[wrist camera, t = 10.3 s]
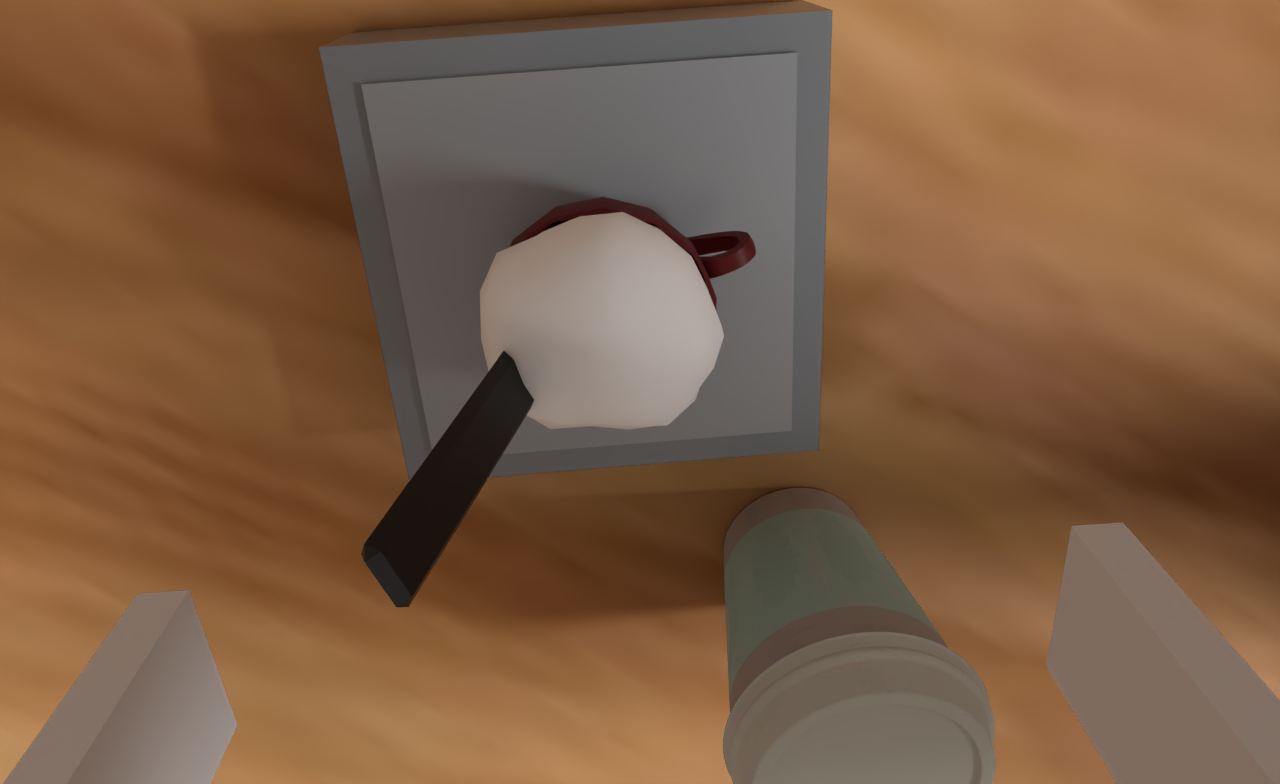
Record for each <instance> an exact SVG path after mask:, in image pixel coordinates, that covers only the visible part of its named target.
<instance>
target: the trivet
mask: <svg viewBox="0 0 1280 784" xmlns="http://www.w3.org/2000/svg"><path fill="white" fill-rule="evenodd" d="M831 38H832V10H830V9H827V8H824V7H821V6H818V5H815V4H812V3H809V2H806V1H803V0H794V1H780V2H766V3H752V4H738V5H724V6H711V7H697V8H683V9H669V10H655V11H641V12H627V13H614V14H600V15H586V16H572V17H558V18H544V19H530V20H516V21H503V22H489V23H475V24H461V25H447V26H433V27H419V28H405V29H392V30H378V31H364V32H352V33H349V34H347V35H345V36H343V37H341V38H338V39H336V40H334V41H332V42H329V43H327V44H325V45H323V46H321V47H319V52H320V56H321V61H322V66H323V71H324V75H325V80H326V85H327V90H328V95H329V99H330V104H331V109H332V114H333V118H334V123H335V128H336V133H337V138H338V142H339V147H340V152H341V157H342V161H343V166H344V171H345V176H346V181H347V185H348V190H349V195H350V200H351V204H352V209H353V214H354V219H355V223H356V228H357V233H358V238H359V243H360V247H361V252H362V257H363V262H364V266H365V271H366V276H367V281H368V286H369V290H370V295H371V300H372V305H373V309H374V314H375V319H376V324H377V329H378V333H379V338H380V343H381V348H382V352H383V357H384V362H385V367H386V372H387V376H388V381H389V386H390V391H391V395H392V400H393V405H394V410H395V414H396V419H397V424H398V429H399V434H400V438H401V443H402V448H403V453H404V457H405V462H406V467H407V472H408V477H409V481H410V480H411V479H412V477H413V476H414V474H415V473H416V472H417V470H418V469H419V467H420V466H421V465H422V463H423V462H424V460H425V459H426V458H427V456H428V455H429V454H430V452H431V451H432V449H433V448H434V447H435V445H436V444H437V442H438V441H439V440H440V438H441V437H442V436H443V434H444V433H445V431H446V430H447V429H448V427H449V426H450V424H451V423H452V422H453V420H454V419H455V417H456V416H457V415H458V413H459V412H460V411H461V409H462V408H463V406H464V405H465V404H466V402H467V401H468V399H469V398H470V397H471V395H472V394H473V392H474V391H475V390H476V388H477V387H478V386H479V384H480V383H481V381H482V380H483V379H484V377H485V376H486V374H487V373H488V372H489V371H488V366H487V362H486V358H485V354H484V350H483V346H482V342H481V319H480V290H481V287H482V285H483V283H484V281H485V278H486V276H487V274H488V271H489V269H490V267H491V265H492V262H493V260H494V258H495V256H496V253H498V252H500V251H502V250H504V249H507V248H509V247H510V244H511V242H512V240H513V239H514V238H516V237H517V236H518V235H519V234H521V233H522V232H523V231H525V230H526V229H527V228H529V227H530V226H531V225H532V224H534V223H535V222H536V221H538V220H539V219H540V218H541V217H543V216H544V215H545V214H547V213H548V212H549V211H551V210H552V209H553V208H554V207H556V206H560V205H565V204H569V203H574V202H579V201H584V200H589V199H593V198H598V197H607V198H611V199H615V200H619V201H623V202H627V203H631V204H635V205H640V206H644V207H648V208H650V209H652V210H653V211H655V212H656V213H657V214H658V215H659V216H661V217H662V218H663V219H664V220H666V221H667V222H668V223H669V224H670V225H672V226H673V227H674V228H675V229H676V230H678V231H679V232H680V233H681V234H682V235H684V236H685V237H693V236H698V235H704V234H710V233H717V232H727V231H743V232H748V234H749V235H750V237H751V238H752V240H753V241H754V244H755V249H756V255H755V256H754V257H753V259H752V260H751V261H750V262H749V263H747V264H746V265H744V266H743V267H741V268H739V269H737V270H735V271H732V272H730V273H727V274H725V275H722V276H719V277H715V278H711V279H710V281H711V284H712V287H713V289H714V292H715V295H716V297H717V304H716V312H717V315H718V317H719V320H720V322H721V325H722V329H723V333H724V338H723V341H722V344H721V347H720V350H719V353H718V356H717V359H716V363H715V366H714V369H713V370H712V371H711V373H710V374H709V375H708V377H707V378H706V379H705V381H704V382H703V383H702V385H701V386H700V388H699V391H698V394H697V397H696V400H695V401H694V402H693V403H692V404H691V405H690V406H689V407H687V408H686V409H685V410H684V411H683V412H682V413H681V414H680V415H679V416H678V417H677V418H676V419H674V420H673V421H672V422H671V423H670V424H669V425H666V426H652V427H645V428H638V429H630V430H628V429H616V428H605V427H593V426H587V427H573V428H559V429H549V428H547V427H546V426H544V425H542V424H541V423H539V422H537V421H536V420H534V419H532V418H530V417H529V416H526V417H525V419H524V420H523V422H522V424H521V425H520V427H519V428H518V430H517V432H516V433H515V435H514V437H513V438H512V440H511V441H510V443H509V445H508V446H507V448H506V450H505V451H504V453H503V454H502V456H501V458H500V459H499V461H498V463H497V464H496V466H495V467H494V469H493V471H492V472H491V474H490V475H489V477H499V476H511V475H523V474H535V473H548V472H560V471H572V470H584V469H596V468H609V467H621V466H633V465H645V464H657V463H669V462H682V461H694V460H706V459H718V458H730V457H743V456H755V455H767V454H779V453H791V452H803V451H816V450H819V428H820V395H821V363H822V330H823V298H824V265H825V233H826V200H827V168H828V135H829V103H830V70H831ZM724 252H726V251H722V252H716V253H710V254H705V255H700V256H699V257H702V256H713V255H717V254H721V253H724Z"/></svg>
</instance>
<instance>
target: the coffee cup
mask: <svg viewBox="0 0 1280 784" xmlns="http://www.w3.org/2000/svg"><path fill="white" fill-rule="evenodd" d="M723 555H724V585H725V608H726V631H727V655H728V678H729V701H730V715H729V718H728V720H727V723H726V727H725V731H724V738H723V753H724V759H725V763H726V766H727V769H728V772H729V774H730V776H731V778H732V781H733V784H992V782H993V779H994V774H995V764H996V761H995V752H994V746H993V740H994V719H993V714H992V710H991V707H990V705H989V700H988V695H987V692H986V689H985V687H984V685H983V683H982V681H981V679H980V677H979V676H978V674H977V673H976V671H975V670H974V669H973V668H972V667H971V666H970V665H969V664H968V663H967V662H966V661H965V660H964V659H963V658H962V657H961V656H959V655H958V654H956V653H955V652H953V651H952V650H950V649H949V648H948V646H947V645H946V643H945V642H944V641H943V639H942V638H941V636H940V635H939V633H938V632H937V631H936V629H935V628H934V626H933V625H932V623H931V622H930V620H929V619H928V618H927V616H926V615H925V613H924V612H923V610H922V609H921V608H920V606H919V605H918V603H917V602H916V600H915V599H914V598H913V596H912V595H911V593H910V592H909V590H908V589H907V587H906V586H905V585H904V583H903V582H902V580H901V579H900V577H899V576H898V575H897V573H896V572H895V570H894V569H893V567H892V566H891V565H890V563H889V562H888V560H887V559H886V557H885V556H884V554H883V553H882V552H881V550H880V549H879V547H878V546H877V544H876V543H875V542H874V540H873V539H872V537H871V536H870V535H869V533H868V532H867V530H866V529H865V528H864V526H863V525H862V523H861V522H860V520H859V519H858V518H857V516H856V515H855V513H854V512H853V511H852V509H851V508H850V507H849V506H848V505H847V504H846V503H845V502H843V501H842V500H841V499H839V498H838V497H836V496H834V495H832V494H830V493H827V492H825V491H821V490H817V489H812V488H789V489H783V490H779V491H775V492H772V493H770V494H767V495H765V496H763V497H761V498H759V499H757V500H755V501H754V502H752V503H751V504H749V505H748V506H747V507H746V508H745V509H744V510H742V511H741V512H740V513H739V515H738V516H737V517H736V518H735V520H734V521H733V522H732V524H731V526H730V527H729V529H728V532H727V534H726V537H725V541H724V549H723Z"/></svg>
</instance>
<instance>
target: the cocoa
mask: <svg viewBox="0 0 1280 784" xmlns="http://www.w3.org/2000/svg"><path fill="white" fill-rule="evenodd" d="M722 251H726V252H724V253H721V254H717V255H713V256H702V257H699V256H700V255H705V254H710V253H716V252H722ZM755 255H756V249H755V244H754V241H753V240H752V238H751V237H750V235H749V234H748V232H743V231H727V232H717V233H710V234H704V235H698V236H693V237H685V236H684V235H682V234H681V233H680V232H679V231H678V230H676V229H675V228H674V227H673V226H672V225H670V224H669V223H668V222H667V221H666V220H664V219H663V218H662V217H661V216H659V215H658V214H657V213H656V212H655V211H653V210H652V209H650V208H648V207H644V206H640V205H635V204H631V203H627V202H623V201H619V200H615V199H611V198H607V197H598V198H593V199H589V200H584V201H579V202H574V203H569V204H565V205H560V206H556V207H554V208H553V209H552V210H551V211H549V212H548V213H547V214H545V215H544V216H543V217H541V218H540V219H539V220H538V221H536V222H535V223H534V224H532V225H531V226H530V227H529V228H527V229H526V230H525V231H523V232H522V233H521V234H519V235H518V236H517V237H516V238H514V239H513V240H512V242H511V244H510V247H509V248H507V249H504V250H502V251H500V252H498V253H496V256H495V258H494V260H493V262H492V265H491V267H490V269H489V271H488V274H487V276H486V278H485V281H484V283H483V285H482V287H481V290H480V319H481V342H482V346H483V350H484V354H485V358H486V362H487V366H488V371H489V372H488V373H487V374H486V376H485V377H484V379H483V380H482V381H481V383H480V384H479V386H478V387H477V388H476V390H475V391H474V392H473V394H472V395H471V397H470V398H469V399H468V401H467V402H466V404H465V405H464V406H463V408H462V409H461V411H460V412H459V413H458V415H457V416H456V417H455V419H454V420H453V422H452V423H451V424H450V426H449V427H448V429H447V430H446V431H445V433H444V434H443V436H442V437H441V438H440V440H439V441H438V442H437V444H436V445H435V447H434V448H433V449H432V451H431V452H430V454H429V455H428V456H427V458H426V459H425V460H424V462H423V463H422V465H421V466H420V467H419V469H418V470H417V472H416V473H415V474H414V476H413V477H412V479H411V480H410V481H409V483H408V484H407V485H406V487H405V488H404V490H403V491H402V492H401V494H400V495H399V497H398V498H397V499H396V501H395V502H394V504H393V505H392V506H391V508H390V509H389V510H388V512H387V513H386V515H385V516H384V517H383V519H382V520H381V522H380V523H379V524H378V526H377V527H376V529H375V530H374V531H373V533H372V534H371V535H370V537H369V538H368V540H367V541H366V542H365V544H364V547H363V551H362V554H361V555H362V557H363V559H364V562H365V563H366V565H367V566H368V567H369V569H370V570H371V572H372V573H373V575H374V576H375V577H376V579H377V580H378V582H379V583H380V584H381V586H382V587H383V589H384V590H385V592H386V593H387V594H388V596H389V597H390V599H391V600H392V601H393V603H394V604H395V606H396V607H409V605H410V604H411V602H412V600H413V599H414V597H415V595H416V594H417V592H418V591H419V589H420V587H421V586H422V584H423V582H424V581H425V579H426V578H427V576H428V574H429V573H430V571H431V569H432V568H433V566H434V565H435V563H436V561H437V560H438V558H439V557H440V555H441V553H442V552H443V550H444V548H445V547H446V545H447V544H448V542H449V540H450V539H451V537H452V535H453V534H454V532H455V531H456V529H457V527H458V526H459V524H460V522H461V521H462V519H463V518H464V516H465V514H466V513H467V511H468V510H469V508H470V506H471V505H472V503H473V501H474V500H475V498H476V497H477V495H478V493H479V492H480V490H481V488H482V487H483V485H484V484H485V482H486V480H487V479H488V477H489V475H490V474H491V472H492V471H493V469H494V467H495V466H496V464H497V463H498V461H499V459H500V458H501V456H502V454H503V453H504V451H505V450H506V448H507V446H508V445H509V443H510V441H511V440H512V438H513V437H514V435H515V433H516V432H517V430H518V428H519V427H520V425H521V424H522V422H523V420H524V419H525V417H526V416H529V417H530V418H532V419H534V420H536V421H537V422H539V423H541V424H542V425H544V426H546V427H547V428H549V429H559V428H573V427H587V426H593V427H605V428H616V429H628V430H630V429H638V428H645V427H652V426H666V425H669V424H670V423H671V422H672V421H673V420H674V419H676V418H677V417H678V416H679V415H680V414H681V413H682V412H683V411H684V410H685V409H686V408H687V407H689V406H690V405H691V404H692V403H693V402H694V401H695V400H696V397H697V394H698V391H699V388H700V386H701V385H702V383H703V382H704V381H705V379H706V378H707V377H708V375H709V374H710V373H711V371H712V370H713V369H714V366H715V363H716V359H717V356H718V353H719V350H720V347H721V344H722V341H723V338H724V333H723V329H722V325H721V322H720V320H719V317H718V315H717V312H716V304H717V297H716V295H715V292H714V289H713V287H712V284H711V281H710V279H711V278H715V277H719V276H722V275H725V274H727V273H730V272H732V271H735V270H737V269H739V268H741V267H743V266H744V265H746V264H747V263H749V262H750V261H751V260H752V259H753V257H754V256H755Z"/></svg>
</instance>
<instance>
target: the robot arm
mask: <svg viewBox="0 0 1280 784" xmlns="http://www.w3.org/2000/svg"><path fill="white" fill-rule="evenodd" d="M1046 667H1047V669H1048V670H1049V672H1050V674H1051V675H1052V677H1053V679H1054V680H1055V682H1056V684H1057V685H1058V687H1059V688H1060V690H1061V692H1062V693H1063V695H1064V697H1065V698H1066V700H1067V702H1068V703H1069V705H1070V707H1071V708H1072V710H1073V712H1074V713H1075V715H1076V717H1077V718H1078V720H1079V722H1080V723H1081V725H1082V727H1083V728H1084V730H1085V732H1086V733H1087V735H1088V737H1089V738H1090V740H1091V742H1092V743H1093V745H1094V747H1095V748H1096V750H1097V752H1098V753H1099V755H1100V757H1101V758H1102V760H1103V761H1104V763H1105V765H1106V766H1107V768H1108V770H1109V771H1110V773H1111V775H1112V776H1113V778H1114V780H1115V781H1116V783H1117V784H1280V700H1279V699H1278V698H1277V697H1276V696H1275V695H1274V693H1273V692H1272V691H1271V690H1270V689H1269V688H1268V687H1267V685H1266V684H1265V683H1264V682H1263V681H1262V680H1261V679H1260V678H1259V676H1258V675H1257V674H1256V673H1255V672H1254V671H1253V670H1252V668H1251V667H1250V666H1249V665H1248V664H1247V663H1246V662H1245V660H1244V659H1243V658H1242V657H1241V656H1240V655H1239V654H1238V653H1237V651H1236V650H1235V649H1234V648H1233V647H1232V646H1231V645H1230V643H1229V642H1228V641H1227V640H1226V639H1225V638H1224V637H1223V635H1222V634H1221V633H1220V632H1219V631H1218V630H1217V629H1216V628H1215V626H1214V625H1213V624H1212V623H1211V622H1210V621H1209V620H1208V618H1207V617H1206V616H1205V615H1204V614H1203V613H1202V612H1201V610H1200V609H1199V608H1198V607H1197V606H1196V605H1195V604H1194V603H1193V601H1192V600H1191V599H1190V598H1189V597H1188V596H1187V595H1186V593H1185V592H1184V591H1183V590H1182V589H1181V588H1180V587H1179V585H1178V584H1177V583H1176V582H1175V581H1174V580H1173V579H1172V578H1171V576H1170V575H1169V574H1168V573H1167V572H1166V571H1165V570H1164V568H1163V567H1162V566H1161V565H1160V564H1159V563H1158V562H1157V560H1156V559H1155V558H1154V557H1153V556H1152V555H1151V554H1150V553H1149V551H1148V550H1147V549H1146V548H1145V547H1144V546H1143V545H1142V543H1141V542H1140V541H1139V540H1138V539H1137V538H1136V537H1135V535H1134V534H1133V533H1132V532H1131V531H1130V530H1129V529H1128V528H1127V526H1126V525H1125V524H1124V523H1123V522H1120V523H1106V524H1092V525H1078V526H1071V532H1070V537H1069V543H1068V548H1067V554H1066V559H1065V565H1064V570H1063V576H1062V581H1061V587H1060V593H1059V598H1058V604H1057V609H1056V615H1055V620H1054V626H1053V631H1052V637H1051V642H1050V648H1049V653H1048V659H1047V664H1046ZM236 727H237V723H236V720H235V717H234V714H233V712H232V709H231V706H230V703H229V701H228V698H227V695H226V692H225V689H224V687H223V684H222V681H221V678H220V675H219V673H218V670H217V667H216V664H215V661H214V659H213V656H212V653H211V650H210V647H209V645H208V642H207V639H206V636H205V634H204V631H203V628H202V625H201V622H200V620H199V617H198V614H197V611H196V608H195V606H194V603H193V600H192V597H191V594H190V592H189V590H183V591H169V592H155V593H141V594H137V595H136V596H135V598H134V599H133V600H132V602H131V603H130V605H129V606H128V608H127V609H126V610H125V612H124V613H123V615H122V616H121V618H120V619H119V620H118V622H117V623H116V625H115V626H114V627H113V629H112V630H111V632H110V633H109V635H108V636H107V637H106V639H105V640H104V642H103V643H102V644H101V646H100V647H99V649H98V650H97V652H96V653H95V654H94V656H93V657H92V659H91V660H90V661H89V663H88V664H87V666H86V667H85V669H84V670H83V671H82V673H81V674H80V676H79V677H78V678H77V680H76V681H75V683H74V684H73V686H72V687H71V688H70V690H69V691H68V693H67V694H66V695H65V697H64V698H63V700H62V701H61V703H60V704H59V705H58V707H57V708H56V710H55V711H54V712H53V714H52V715H51V717H50V718H49V720H48V721H47V722H46V724H45V725H44V727H43V728H42V729H41V731H40V732H39V734H38V735H37V737H36V738H35V739H34V741H33V742H32V744H31V745H30V746H29V748H28V749H27V751H26V752H25V754H24V755H23V756H22V758H21V759H20V761H19V762H18V763H17V765H16V766H15V768H14V769H13V771H12V772H11V773H10V775H9V776H8V778H7V779H6V781H5V782H4V783H3V784H211V781H212V779H213V777H214V775H215V773H216V771H217V768H218V766H219V764H220V762H221V760H222V758H223V755H224V753H225V751H226V749H227V747H228V745H229V743H230V740H231V738H232V736H233V734H234V732H235V730H236Z"/></svg>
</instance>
